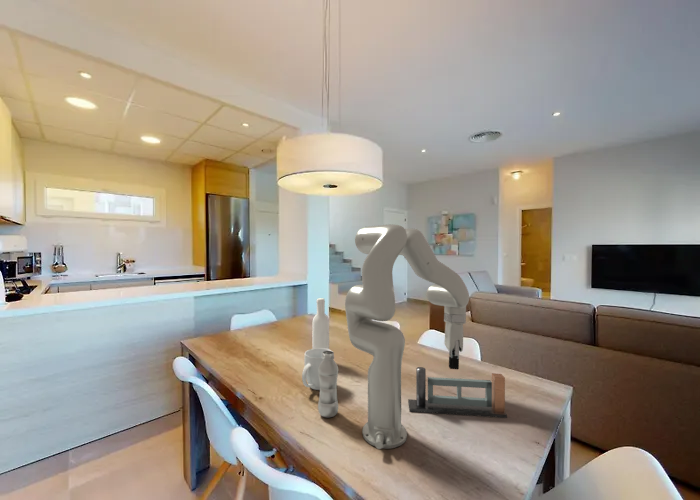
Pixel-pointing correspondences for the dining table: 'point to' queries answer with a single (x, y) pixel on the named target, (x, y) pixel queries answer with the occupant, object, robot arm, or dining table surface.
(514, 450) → the dining table surface
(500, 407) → the gate frame
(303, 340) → the dining table surface
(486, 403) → the gate
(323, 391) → the plastic bottle
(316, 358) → the mug
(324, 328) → the bottle
